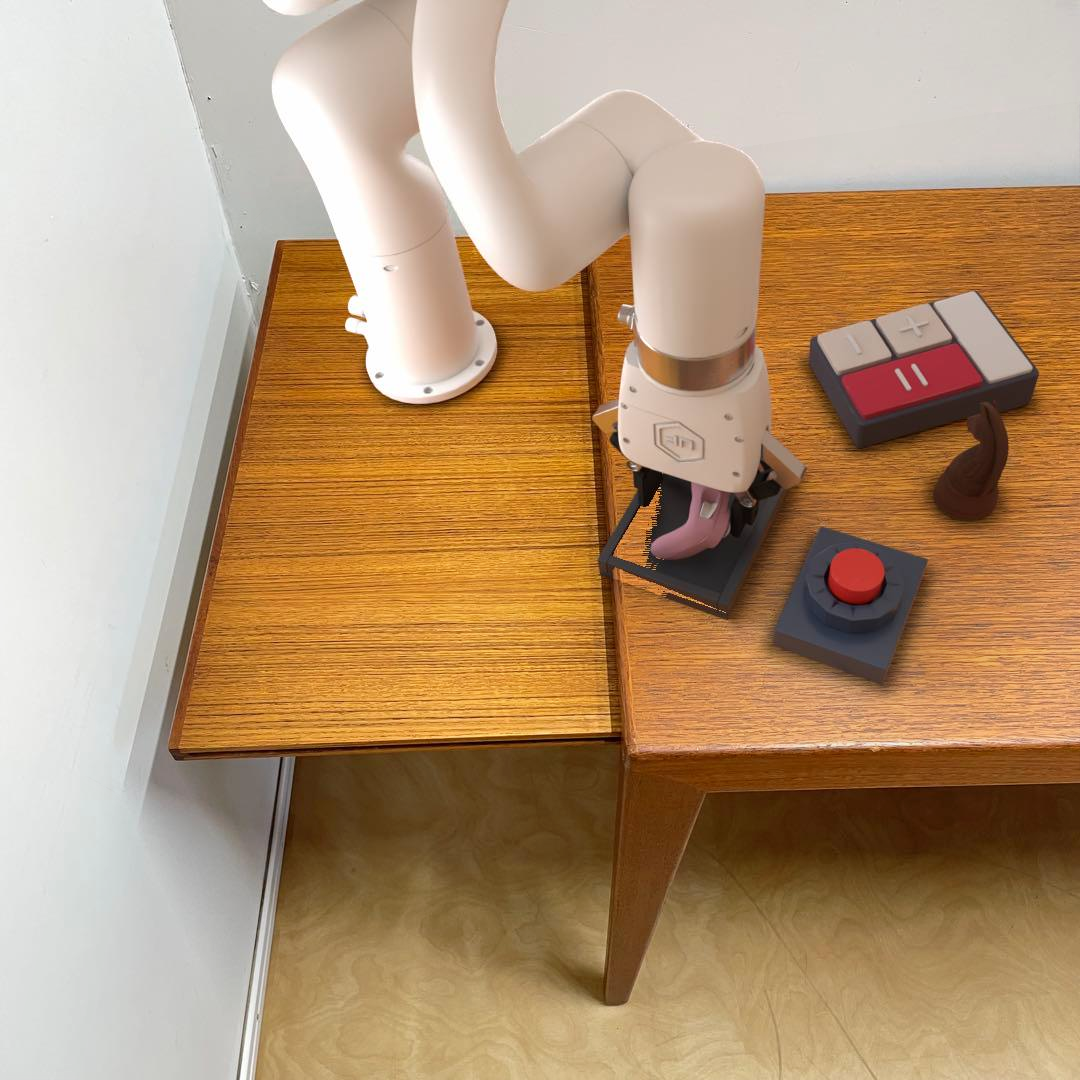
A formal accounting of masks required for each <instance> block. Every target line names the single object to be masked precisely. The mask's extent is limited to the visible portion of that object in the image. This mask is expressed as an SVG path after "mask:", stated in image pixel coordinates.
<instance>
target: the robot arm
mask: <svg viewBox="0 0 1080 1080" xmlns="http://www.w3.org/2000/svg"><path fill="white" fill-rule="evenodd" d="M338 1H340V0H262V2H263V3H264V4H265V5H266V6H267V7H268V8H269V9H271V10H273V11H275V12H277V13H279V14H281V15H284V16H293V17H294V16H295V17H298V16H303V15H308V14H309V15H310V14H312V13H315V12H317V11H320V10H322V9H324V8H327V7H328V6H330V5H332V4H335V3H336V2H338ZM510 1H511V0H362V1H360V2H359V3H356V4H353V5H351V6H350V7H348V8H347V9H344V10H343V11H341V12H339V13H338V14H336V15H334V16H332V17H330V19H327V20H325V21H324V22H322V23H321V24H319V25H317V26H316V27H314V28H313V29H311V30H309V31H308V32H307V33H305V34H304V35H302V36H301V37H300V38H298V39H297V40H296V41H295V42H294V43H292V45H291V46H289V47H288V48H287V50H286V51H285V52H284V53H283V54H282V55H281V56H280V58H279V60H278V62H277V64H276V66H275V68H274V71H273V74H272V78H271V97H272V100H273V103H274V107H275V110H276V112H277V115H278V117H279V119H280V121H281V123H282V125H283V127H284V128H285V131H286V132H287V134H288V136H289V137H290V139H291V141H292V143H293V144H294V146H295V147H296V149H297V151H298V153H299V155H300V156H301V158H302V160H303V161H304V164H305V165H306V167H307V169H308V171H309V173H310V175H311V177H312V179H313V181H314V183H315V185H316V187H317V190H318V192H319V194H320V196H321V199H322V201H323V204H324V206H325V209H326V212H327V214H328V216H329V220H330V222H331V225H332V227H333V231H334V233H335V234H334V235H335V236H336V239H337V241H338V243H339V246H340V247H339V248H340V249H341V253H342V255H343V258H344V260H345V263H346V266H347V269H348V272H349V275H350V277H351V280H352V283H353V286H354V288H355V292H356V294H354V295H352V296H351V297H350V298H349V300H348V302H347V303H348V305H347V309H348V312H349V314H350V315H353V316H356V317H359V318H362V319H359V318H356V317H352V316H351V317H348V318H347V319H346V321H345V323H344V324H345V325H344V327H345V328H344V329H345V330H346V332H349V333H353V334H356V335H363V336H364V338H365V340H366V343H367V346H368V348H367V350H366V354H365V367H366V371H367V374H368V376H369V379H370V381H371V383H372V385H373V386H374V387H375V389H377V390H378V391H379V392H380V393H381V394H382V395H384V396H386V397H387V398H390V399H391V400H395V401H398V402H401V403H407V404H413V405H423V404H424V405H427V404H433V403H434V404H435V403H440V402H444V401H447V400H450V399H454V398H455V397H458V396H460V395H462V394H464V393H466V392H467V391H469V390H471V389H472V388H474V387H475V386H477V385H478V384H479V383H480V382H481V381H482V380H483V379H484V378H485V377H486V376H487V375H488V373H489V372H490V371H491V370H492V368H493V366H494V364H495V362H496V359H497V355H498V341H497V337H496V333H495V330H494V328H493V326H492V324H491V323H490V322H489V320H488V319H487V318H486V317H484V316H483V315H482V314H480V313H479V312H478V311H476V310H473V307H472V306H473V305H472V302H471V298H470V295H469V289H468V286H467V282H466V277H465V274H464V273H465V272H464V269H463V265H462V261H461V257H460V253H459V249H458V245H457V240H456V237H455V233H454V229H453V225H452V219H451V216H450V211H449V208H448V205H447V202H446V197H445V194H446V196H447V198H448V201H449V202H450V204H451V206H452V208H453V209H454V211H455V214H456V215H457V217H458V219H459V221H460V222H461V224H462V226H463V228H464V229H465V231H466V233H467V235H468V237H469V239H470V240H471V241H472V243H473V244H474V246H475V248H476V250H477V251H478V252H479V254H480V255H481V256H482V258H483V259H484V261H485V262H486V263H487V264H488V265H489V267H490V268H491V269H492V270H493V271H494V273H496V274H497V275H498V276H499V277H500V278H501V279H503V280H504V281H505V282H507V283H508V284H510V285H512V286H513V287H515V288H518V289H520V290H522V291H527V292H537V293H538V292H545V291H549V290H552V289H556V288H558V287H559V286H562V285H563V284H565V283H566V282H568V281H569V280H571V279H573V278H574V277H575V276H577V274H579V273H580V272H581V271H583V270H584V269H585V268H586V267H588V266H589V265H590V264H592V263H593V262H595V261H596V260H597V259H598V258H599V257H600V256H602V255H603V254H604V253H605V252H607V251H608V250H609V249H611V248H612V246H614V245H615V244H617V243H618V242H619V241H621V240H622V239H623V238H624V237H627V236H629V241H630V256H631V257H630V259H631V274H632V289H633V290H632V292H633V305H629V304H625V303H623V304H622V305H621V307H620V308H619V311H618V314H617V323H618V325H621V326H624V327H627V329H628V330H630V331H631V332H632V333H633V340H632V341H631V342H630V343H629V345H628V346H627V348H626V350H625V354H624V359H623V362H622V363H623V364H622V369H621V376H620V384H619V392H618V393H619V394H618V397H617V398H615V399H613V400H609V401H607V402H605V403H602V404H600V405H598V407H597V409H596V411H594V414H593V415H592V417H591V418H592V419H591V420H592V421H593V422H594V424H595V425H596V426H597V427H598V428H599V429H600V431H601V432H602V433H603V434H604V435H605V436H609V439H608V441H609V443H610V444H611V446H612V447H613V448H615V449H616V450H617V451H618V452H619V453H620V454H621V455H622V456H623V457H624V458H625V459H626V461H625V466H626V468H627V469H628V470H630V471H631V472H632V477H633V479H632V480H633V488H635V489H637V490H636V492H637V491H638V504H639V505H640V506H643V507H646V506H649V504H650V502H651V500H652V499H653V497H654V495H655V493H656V491H657V490H658V488H659V486H660V484H661V482H662V479H663V477H662V473H666V474H669V475H672V476H675V477H678V478H681V479H684V480H688V481H691V482H694V483H697V484H701V485H704V486H707V487H710V488H714V489H718V490H721V491H726V492H734V494H735V498H734V500H733V502H732V505H731V519H730V534H732V536H734V537H737V538H739V536H740V534H741V532H742V530H743V528H744V526H745V524H748V525H751V526H752V525H753V523H754V521H755V519H756V517H757V514H758V511H759V502H760V500H763V499H766V498H769V497H772V496H776V495H778V493H779V491H781V490H783V489H784V490H786V489H788V488H790V489H792V488H793V487H795V486H798V485H800V484H801V483H802V481H803V479H804V476H805V475H806V472H807V470H808V468H807V466H806V464H804V463H803V462H802V461H801V460H800V459H799V458H798V457H797V456H796V455H794V453H792V451H790V450H789V449H788V448H787V447H786V446H784V444H783V443H781V441H780V440H778V439H777V438H776V436H774V434H772V395H771V385H770V378H769V373H768V367H767V363H766V359H765V356H764V355H765V354H764V352H763V349H762V348H760V347H758V346H757V345H756V340H757V326H758V325H757V324H758V312H759V311H758V310H759V297H760V284H761V283H760V281H761V269H762V268H761V267H762V254H763V253H762V251H763V237H764V224H765V207H766V188H765V183H764V177H763V174H762V172H761V170H760V168H759V167H758V164H757V163H755V161H754V159H753V158H752V157H750V155H748V154H747V153H745V152H744V151H743V150H741V149H739V148H737V147H735V146H733V145H729V144H726V143H724V142H719V141H714V140H705V139H704V138H702V137H701V136H700V135H698V134H697V133H695V131H693V130H692V129H690V128H689V127H688V126H686V124H684V123H683V122H682V121H680V120H679V119H678V118H677V117H676V116H675V115H673V114H672V113H671V112H669V110H667V109H666V108H665V107H663V106H662V105H661V104H659V103H658V102H656V101H655V100H654V99H652V98H651V97H649V96H648V95H645V94H643V93H641V92H639V91H636V90H632V89H624V88H623V89H621V88H620V89H616V90H615V89H614V90H611V91H609V92H606V93H603V94H602V95H600V96H598V97H597V98H595V99H592V101H590V102H589V103H587V104H586V105H585V106H584V107H582V108H580V109H579V110H578V111H576V112H575V113H574V114H572V115H570V116H569V117H568V118H567V119H565V120H564V121H562V122H561V123H559V124H558V125H556V126H554V127H553V128H551V129H550V130H548V131H547V132H546V133H545V134H543V135H541V136H540V137H539V138H537V139H536V140H535V141H533V142H532V143H531V144H529V145H527V146H526V147H525V148H523V149H522V150H520V151H519V152H517V153H516V151H515V149H514V147H513V145H512V143H511V141H510V138H509V135H508V133H507V130H506V127H505V125H504V122H503V118H502V114H501V110H500V105H499V101H498V100H499V99H498V91H497V81H496V70H497V69H496V68H497V52H498V46H499V39H500V34H501V30H502V26H503V23H504V18H505V15H506V12H507V9H508V8H509V4H510ZM419 133H420V137H421V140H422V143H423V147H424V151H425V153H426V155H427V158H428V161H429V163H430V165H431V168H432V169H431V168H430V167H429V166H428V165H427V164H426V163H424V162H423V161H422V160H420V159H419V158H417V157H415V156H413V155H411V154H409V153H407V150H406V148H407V144H408V143H409V141H411V139H412V138H413V137H415V136H416V135H417V134H419ZM444 192H445V193H444ZM363 318H364V319H365V320H366V321H364V320H363ZM760 458H761V459H762V460H763V461H764V462H765V463H766V464H767V465H768V466H769V467H771V468H772V469H769V470H766V471H765V470H764V468H763V467H762V465H761V463H760Z"/></svg>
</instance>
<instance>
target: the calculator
mask: <svg viewBox="0 0 1080 1080" xmlns="http://www.w3.org/2000/svg"><path fill="white" fill-rule="evenodd" d="M808 365H809V366H810V368H811V370H812V372H813V374H814V375H815V377H816V379H817V381H818V382H819V385H820V386H821V388H822V390H823V392H824V393H825V395H826V397H827V398H828V400H829V402H830V404H831V406H832V407H833V409H834V410H835V413H836V414H837V416H838V418H839V420H840V422H841V424H842V425H843V427H844V429H845V430H846V432H847V434H848V436H849V437H850V439H851V441H852V442H853V445H854V446H855V447H856V448H858V449H863V448H867V447H870V446H874V445H877V444H880V443H884V442H888V441H890V440H894V439H897V438H902V437H905V436H908V435H909V436H910V435H912V434H916V433H918V432H922V431H926V430H929V429H932V428H936V427H940V426H942V425H943V426H944V425H946V424H950V423H953V422H956V421H960V420H964V419H967V418H968V417H971V416H975V415H979V414H981V408H980V403H984V402H987V403H990V404H991V405H992V406H993V401H994V400H996V403H997V407H998V411H999V414H1000V413H1004V412H1007V411H1010V410H1014V409H1018V408H1021V407H1025V406H1027V405H1029V404H1030V403H1031V401H1032V398H1033V395H1034V392H1035V389H1036V386H1037V382H1038V379H1039V376H1040V370H1038V367H1036V365H1035V364H1034V363H1033V361H1032V360H1031V359H1030V357H1029V356H1028V355H1027V353H1026V352H1025V350H1024V349H1023V348H1022V347H1021V345H1020V344H1019V343H1018V342H1017V341H1016V339H1015V338H1014V336H1013V335H1012V334H1011V333H1010V332H1009V330H1008V329H1007V328H1006V326H1005V325H1004V324H1003V322H1002V321H1001V320H1000V318H999V317H998V316H997V314H996V313H995V312H994V310H993V309H992V308H991V307H990V306H989V304H988V303H987V301H986V300H985V299H984V297H983V296H982V294H980V292H979V291H977V290H969V291H965V292H962V293H958V294H956V295H952V296H949V297H945V298H942V299H941V298H940V299H938V300H934V301H932V302H931V301H930V302H927V303H922V304H918V305H915V306H911V307H909V308H905V309H901V310H898V311H894V312H891V313H888V314H885V315H880V316H878V317H877V318H873V319H870V320H864V321H860V322H856V323H853V324H850V325H847V326H846V325H845V326H843V327H840V328H836V329H833V330H829V331H825V332H822V333H820V334H818V335H815V336H812V337H811V338H810V340H809V354H808Z"/></svg>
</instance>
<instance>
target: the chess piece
mask: <svg viewBox="0 0 1080 1080" xmlns="http://www.w3.org/2000/svg"><path fill="white" fill-rule="evenodd" d="M980 408H981V414H978V415H974V416H971V417H967V418H966V428H967V431H968V432H970V434H971V435H972V436H973V438H974V439H975V440H976V441H978V442H979V443H977V444H975V445H973V446H971V447H969V448H966V449H965V450H963V451H962V452H960V453H959V454H957V456H955V457H954V458H953V459H952V461H951V462H950V463H949V464H948V465H947V467H946V468H945V469H944V471H943V472H942V473H941V474H940V476H939V477H938V479H937V482H936V483H935V485H934V488H933V493H932V494H933V500H934V503H935V505H936V507H937V508H938V510H939V511H941V512H942V513H943V514H944V515H946V516H947V517H949V518H952V519H954V520H957V521H962V522H975V521H979V520H982V519H984V518H986V517H988V516H990V515H991V514H992V513H993V511H995V507H996V505H997V502H998V497H999V491H1000V490H999V486H998V485H999V481H1000V478H1001V477H1002V475H1003V471H1004V470H1005V468H1006V465H1007V462H1008V458H1009V450H1010V449H1009V446H1010V445H1009V435H1008V432H1007V429H1006V426H1005V423H1004V420H1003V418H1002V415H1001V414H1000V413H999V411H998V407H997V403H996V400H994V401H993V406H992V405H991V404H990V403H987V402H984V403H980Z"/></svg>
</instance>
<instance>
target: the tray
mask: <svg viewBox="0 0 1080 1080" xmlns="http://www.w3.org/2000/svg"><path fill="white" fill-rule="evenodd" d="M760 463H761V465H762V467H763V468H764V470H765V471H766V470H769V469H772V468H771V467H769V466H768V465H767V464H766V463H765V462H764V461H763V460H762V459H761V458H760ZM662 477H663V479H662V482H661V485H660V486H659V487H661V489H658V490H662V491H657V492H660V494H658V495H662V496H659V498H660V499H659V501H660V502H658V503H660V504H659V505H656V506H661V507H656V508H661V509H656V510H655V511H659V512H656V513H660V514H657V515H655V516H657V517H651V518H657V519H652V520H656V521H657V522H652V523H657V524H652V525H657V526H652V527H653V528H652V529H650V530H652V531H646V532H652V533H646V534H652V535H646V536H650V537H646V538H647V539H646V540H645V541H651V542H645V543H653V542H654V541H655V540H656V539H657V538H659V537H661V536H663V535H665V534H668V533H670V532H672V531H674V530H676V529H678V528H680V527H682V526H683V525H684V524H686V522H687V521H688V519H689V513H690V506H691V502H692V486H691V481H688V480H684V479H681V478H678V477H675V476H672V475H669V474H666V473H663V474H662ZM790 490H791V488H788V489H786V490H784V489H783V490H781V491H779V493H778V495H776V496H772V497H769V498H766V499H763V500H760V502H759V511H758V514H757V517H756V519H755V521H754V523H753V525H752V526H751V525H748V524H745V526H744V528H743V530H742V532H741V534H740V536H739V538H737V537H734V536H732V534H730V532H729V534H728V535H727V536H726V537H724V538H722V539H721V540H720V542H719V543H718V544H717V545H716V546H715V547H714V548H707V549H705V550H703V551H701V552H699V553H697V554H695V555H693V556H690V557H686V558H683V559H677V560H663V559H658V558H656V557H655V556H654V555H653V554H652V553H651V550H650V549H651V544H645V545H649V546H650V547H649V546H646V547H647V548H650V549H645V550H650V551H643V552H649V553H643V554H649V555H642V556H648V558H649V559H647V562H646V563H652V564H646V565H651V566H645V567H643V566H640V565H637V564H635V563H632V562H629V561H626V560H623V559H620V558H617V557H614V556H613V554H614V551H615V549H616V547H617V545H618V543H619V542H620V540H621V539H622V537H623V535H624V534H625V532H626V530H627V529H628V527H629V525H630V523H631V522H632V520H633V518H634V517H635V515H636V513H637V511H638V509H639V508H640V505H639V504H638V491H637V490H636V492H635V494H634V495H633V497H632V499H631V501H630V502H629V504H628V506H627V508H626V509H625V511H624V513H623V514H622V516H621V518H620V520H619V522H618V523H617V525H618V526H617V525H616V526H615V528H614V530H613V532H612V534H611V536H610V537H609V539H608V540H607V542H606V544H605V546H604V547H603V549H602V551H601V552H600V553H599V556H598V558H597V565H598V573H599V575H600V576H602V577H606V578H607V579H611V580H614V579H613V573H612V570H613V569H614V568H615V567H616V568H617V567H618V568H619V569H622V570H623V571H625V572H628V573H630V574H633V575H635V576H637V577H640V578H642V579H646V580H647V581H649V582H653V583H656V584H658V585H660V586H663V587H665V588H667V589H669V590H673V591H675V592H678V593H679V594H682V595H684V596H686V597H690V598H692V599H694V600H697V601H700V602H702V603H704V604H706V605H708V606H711V607H713V608H716V609H717V610H716V609H713V608H710V607H708V606H705V605H702V604H699V603H696V602H694V601H691V600H688V599H685V598H682V597H679V596H677V595H674V594H671V593H662V594H667V595H661V596H666V597H663V598H664V599H665V600H666V599H667V600H669V601H672V602H675V603H678V604H680V605H682V606H686V607H689V608H692V609H694V610H697V611H699V612H703V613H705V614H708V615H711V616H713V617H717V618H718V619H719V618H720V619H721V620H725V621H728V620H729V618H730V616H731V614H732V612H733V610H734V608H735V606H736V603H737V601H738V600H739V598H740V595H741V593H742V590H743V589H744V587H745V585H746V582H747V580H748V578H749V576H750V574H751V572H752V570H753V568H754V566H755V564H756V562H757V560H758V557H759V556H760V554H761V551H762V549H763V547H764V545H765V543H766V541H767V538H768V536H769V534H770V533H771V530H772V528H773V526H774V523H775V522H776V520H777V517H778V516H779V513H780V512H781V509H782V507H783V505H784V503H785V501H786V499H787V497H788V494H789V493H790ZM734 498H735V494H734V492H731V493H730V497H729V502H728V508H729V521H728V522H729V523H730V519H731V505H732V502H733V500H734ZM655 503H656V502H655ZM648 525H649V524H648ZM648 539H651V540H648ZM652 561H653V562H652ZM657 563H658V564H657ZM654 565H657V566H654ZM646 567H651V568H646ZM653 567H656V568H653ZM652 569H656V570H652ZM658 590H659V589H658ZM663 592H665V591H663ZM661 596H660V597H661ZM719 610H721V611H719ZM722 611H724V612H726V613H724V612H722Z"/></svg>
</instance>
